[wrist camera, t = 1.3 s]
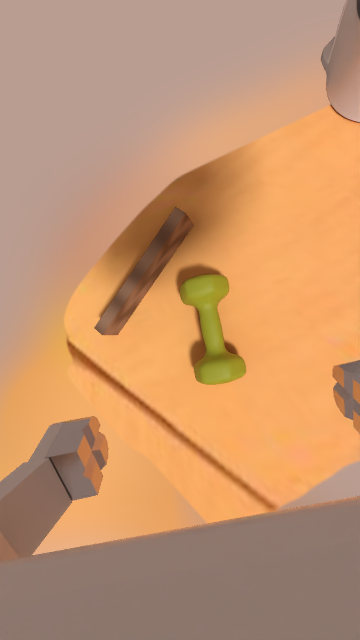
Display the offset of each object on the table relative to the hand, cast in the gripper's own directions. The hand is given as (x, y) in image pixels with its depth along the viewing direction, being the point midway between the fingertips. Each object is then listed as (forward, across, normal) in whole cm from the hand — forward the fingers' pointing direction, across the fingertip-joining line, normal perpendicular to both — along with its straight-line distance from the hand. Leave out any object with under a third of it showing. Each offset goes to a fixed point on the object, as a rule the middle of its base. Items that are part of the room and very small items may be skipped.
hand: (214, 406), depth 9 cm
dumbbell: (+35, -3, +13) cm, 37 cm away
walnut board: (+42, +6, +3) cm, 42 cm away
